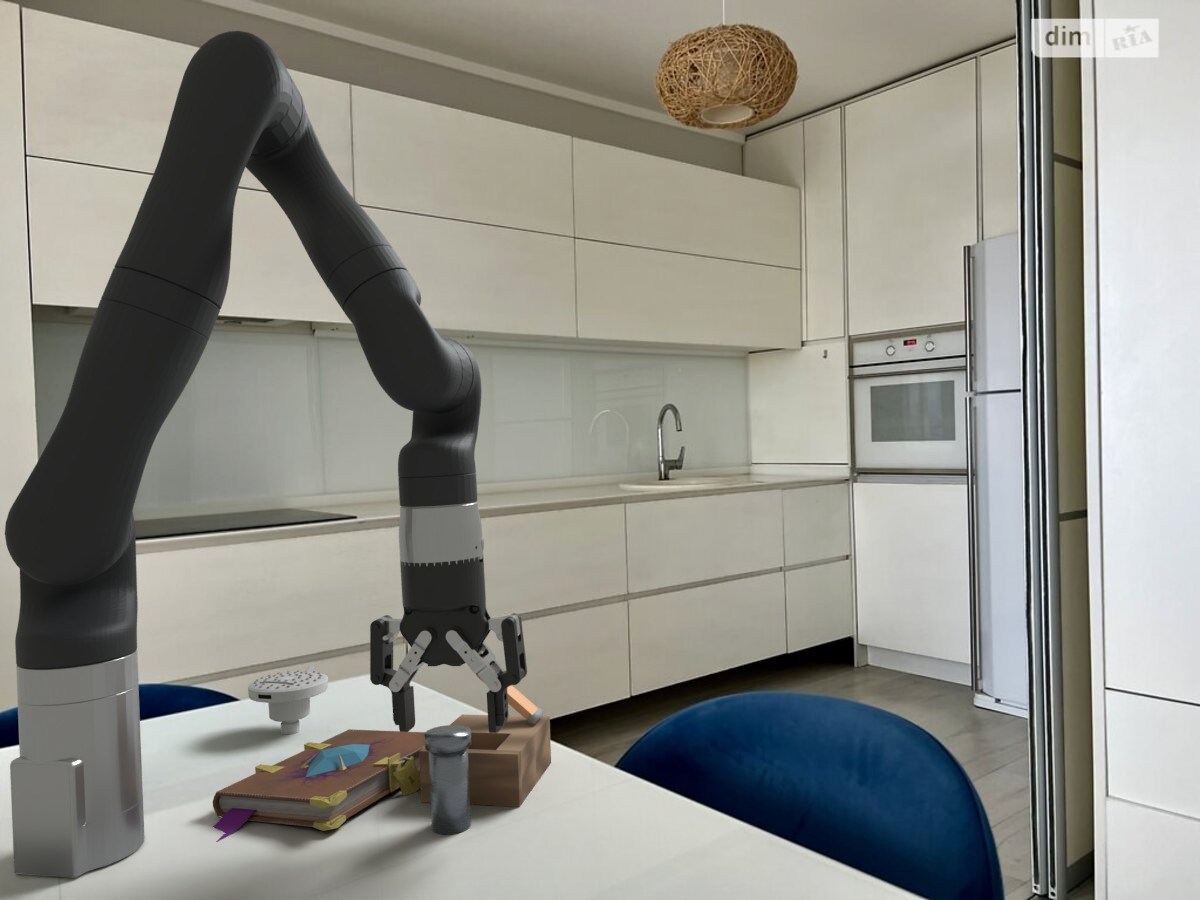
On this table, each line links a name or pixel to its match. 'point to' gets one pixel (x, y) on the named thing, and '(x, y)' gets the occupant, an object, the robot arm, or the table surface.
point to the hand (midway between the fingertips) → (451, 729)
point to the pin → (449, 778)
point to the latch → (522, 705)
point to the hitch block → (500, 760)
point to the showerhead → (288, 695)
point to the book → (324, 781)
